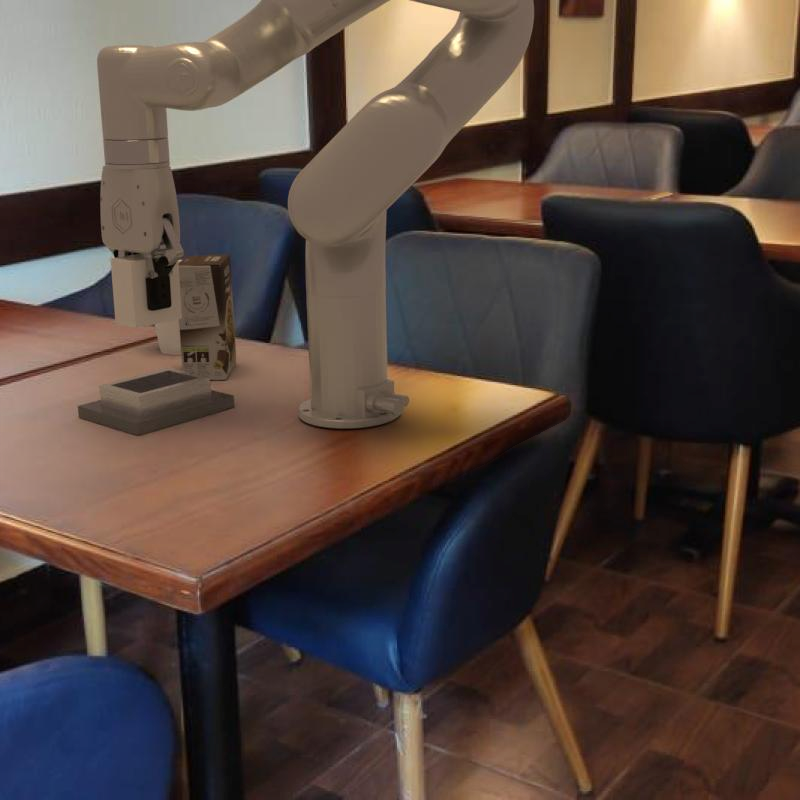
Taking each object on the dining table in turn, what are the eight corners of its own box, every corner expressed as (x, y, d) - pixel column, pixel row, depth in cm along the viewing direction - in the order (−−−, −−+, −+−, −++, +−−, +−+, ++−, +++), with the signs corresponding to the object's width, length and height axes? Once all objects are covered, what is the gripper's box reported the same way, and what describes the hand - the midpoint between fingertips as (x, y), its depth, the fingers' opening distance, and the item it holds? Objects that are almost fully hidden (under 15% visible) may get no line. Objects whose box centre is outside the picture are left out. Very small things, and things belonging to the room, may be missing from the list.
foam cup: (183, 360, 176) (177, 272, 173) (137, 353, 181) (129, 267, 178) (225, 346, 184) (220, 262, 180) (179, 340, 189) (173, 258, 185)
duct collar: (234, 407, 152) (232, 376, 151) (137, 435, 142) (135, 403, 140) (174, 391, 160) (172, 362, 159) (78, 417, 149) (75, 386, 148)
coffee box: (228, 380, 165) (221, 264, 160) (181, 381, 165) (173, 264, 161) (238, 364, 174) (231, 253, 169) (193, 364, 174) (186, 253, 169)
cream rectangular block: (135, 328, 144) (130, 261, 142) (115, 323, 146) (110, 258, 144) (182, 318, 149) (177, 254, 147) (161, 314, 151) (157, 251, 149)
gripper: (68, 153, 145) (81, 302, 150) (155, 160, 134) (165, 320, 139) (120, 149, 150) (131, 293, 155) (207, 155, 139) (216, 310, 144)
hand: (147, 304), depth 147 cm, fingers closed on cream rectangular block, 4 cm apart
